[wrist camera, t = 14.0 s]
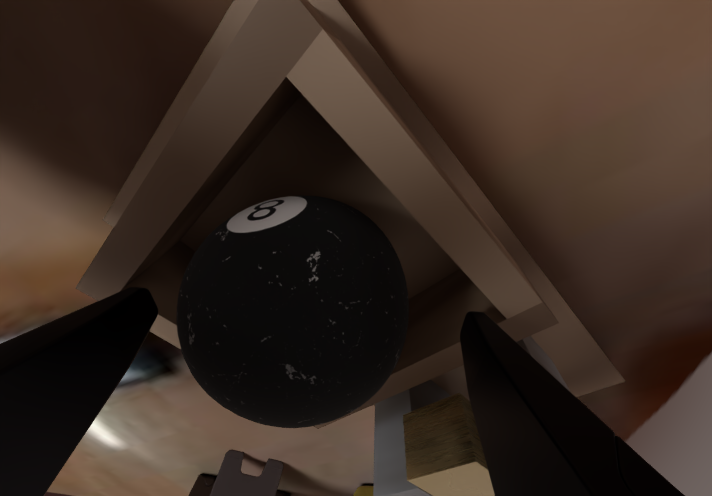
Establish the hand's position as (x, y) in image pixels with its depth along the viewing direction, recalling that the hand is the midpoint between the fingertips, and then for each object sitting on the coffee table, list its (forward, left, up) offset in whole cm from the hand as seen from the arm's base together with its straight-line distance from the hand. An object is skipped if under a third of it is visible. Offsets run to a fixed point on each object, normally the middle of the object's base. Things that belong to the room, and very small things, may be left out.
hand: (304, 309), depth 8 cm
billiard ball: (0, 0, -3) cm, 3 cm away
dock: (+4, 0, -4) cm, 6 cm away
